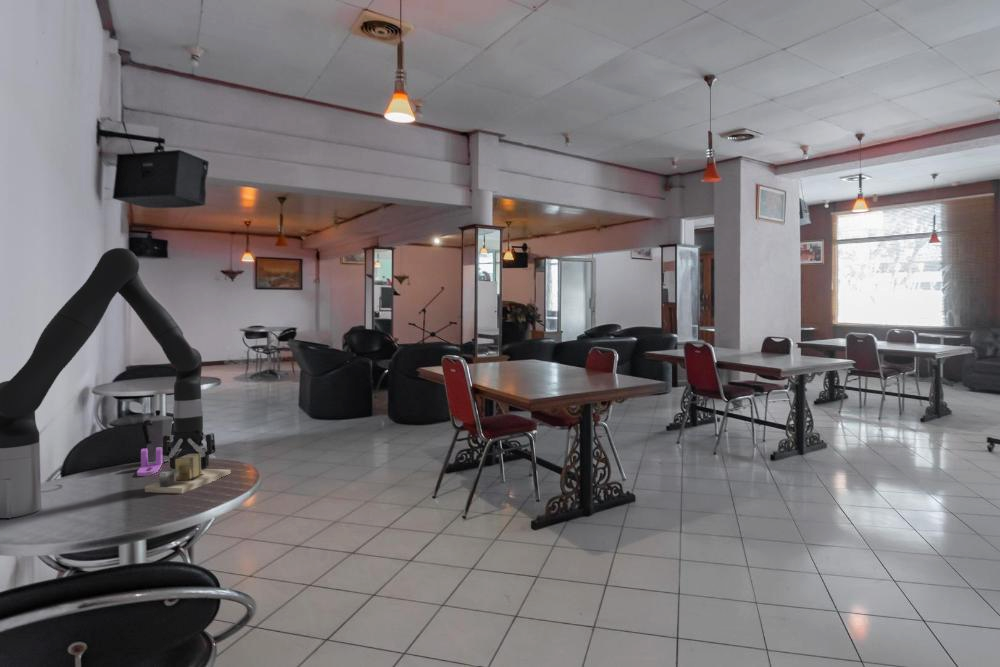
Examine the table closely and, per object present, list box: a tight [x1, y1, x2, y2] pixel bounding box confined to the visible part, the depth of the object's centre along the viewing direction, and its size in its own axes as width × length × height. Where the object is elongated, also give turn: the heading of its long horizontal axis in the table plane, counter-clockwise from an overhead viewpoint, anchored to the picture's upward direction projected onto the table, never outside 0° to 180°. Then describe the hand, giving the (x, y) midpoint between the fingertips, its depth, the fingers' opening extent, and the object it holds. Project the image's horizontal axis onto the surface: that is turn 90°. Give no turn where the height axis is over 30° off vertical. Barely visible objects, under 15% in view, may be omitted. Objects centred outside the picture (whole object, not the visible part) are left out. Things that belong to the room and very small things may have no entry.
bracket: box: [136, 447, 164, 477], centre depth 177 cm, size 13×6×7 cm, turn 24°
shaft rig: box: [144, 468, 232, 494], centre depth 162 cm, size 20×12×6 cm, turn 169°
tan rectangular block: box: [175, 453, 202, 480], centre depth 162 cm, size 7×4×6 cm, turn 1°
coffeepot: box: [141, 409, 174, 462], centre depth 190 cm, size 15×9×18 cm, turn 4°
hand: (189, 469), depth 162 cm, fingers open, 8 cm apart
